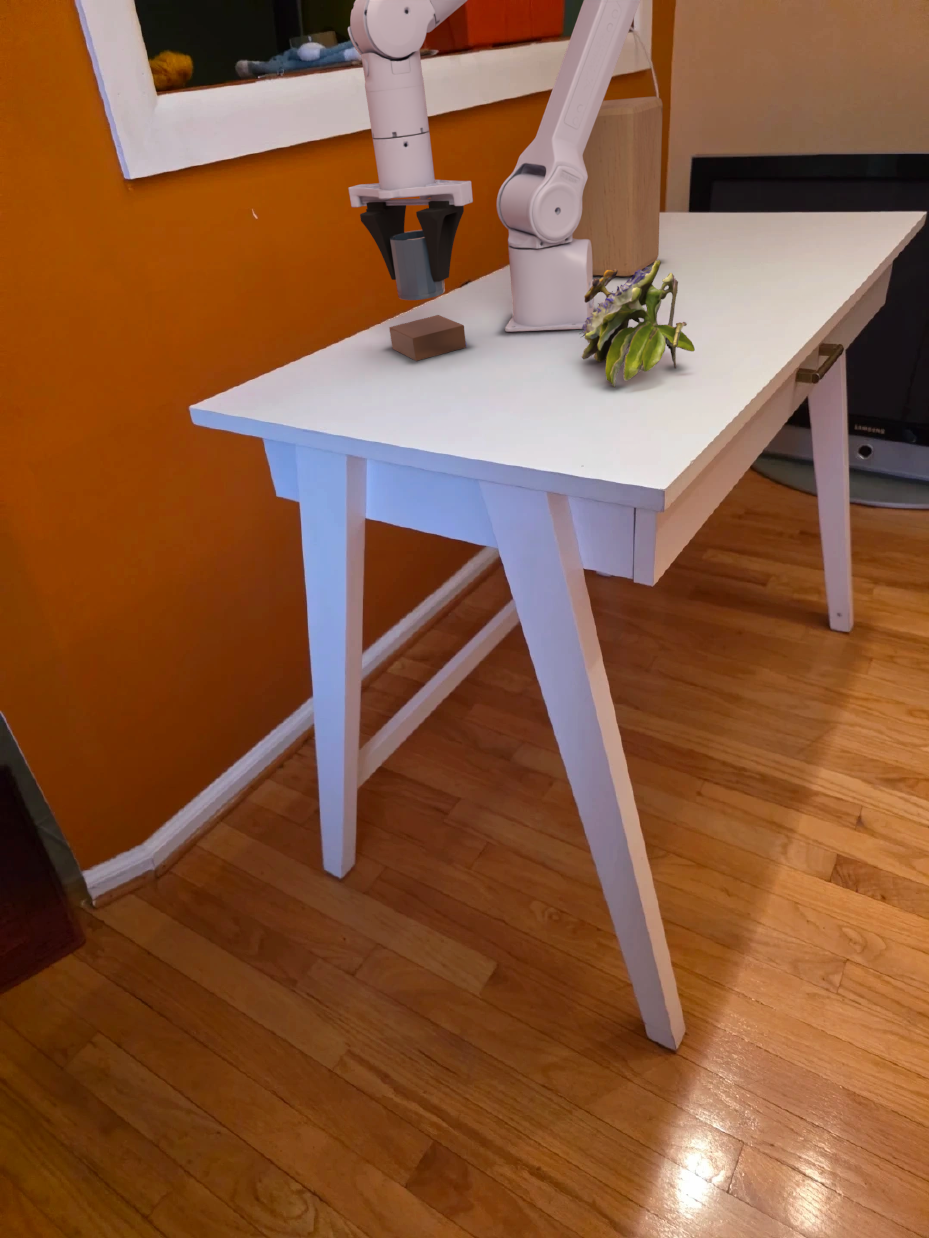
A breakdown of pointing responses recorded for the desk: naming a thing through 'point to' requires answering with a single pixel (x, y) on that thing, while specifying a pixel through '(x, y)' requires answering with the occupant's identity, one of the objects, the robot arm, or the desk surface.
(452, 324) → the block
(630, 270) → the wooden block
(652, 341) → the passion flower
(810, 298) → the desk surface
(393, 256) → the cup
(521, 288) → the robot arm
